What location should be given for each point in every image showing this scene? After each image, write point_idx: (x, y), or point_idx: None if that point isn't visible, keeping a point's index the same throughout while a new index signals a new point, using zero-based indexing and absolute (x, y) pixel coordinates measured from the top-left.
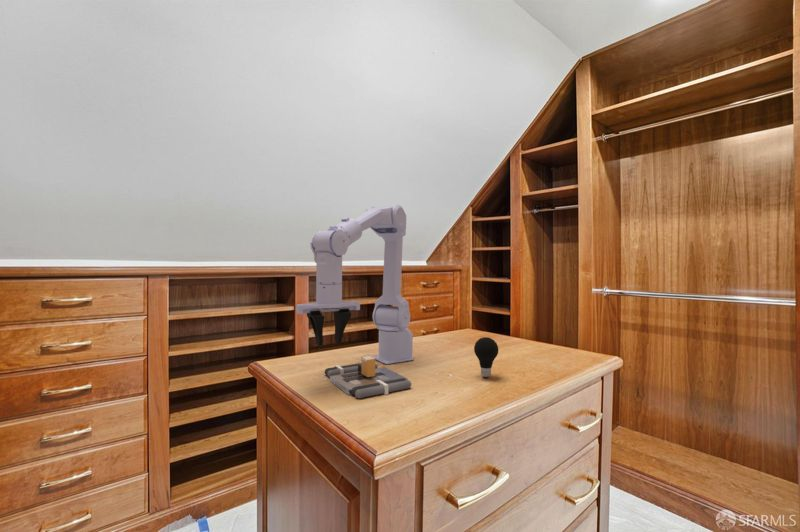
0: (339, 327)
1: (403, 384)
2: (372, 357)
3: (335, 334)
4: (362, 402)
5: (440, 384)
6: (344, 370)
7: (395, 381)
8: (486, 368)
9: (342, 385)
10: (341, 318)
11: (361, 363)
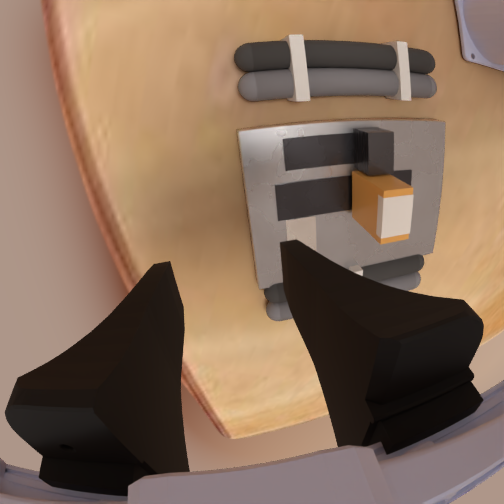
0: (317, 359)
1: None
2: (411, 218)
3: (294, 267)
4: (272, 325)
5: (464, 270)
6: (312, 94)
7: (393, 277)
8: None
9: (253, 246)
10: (336, 438)
11: (396, 59)
